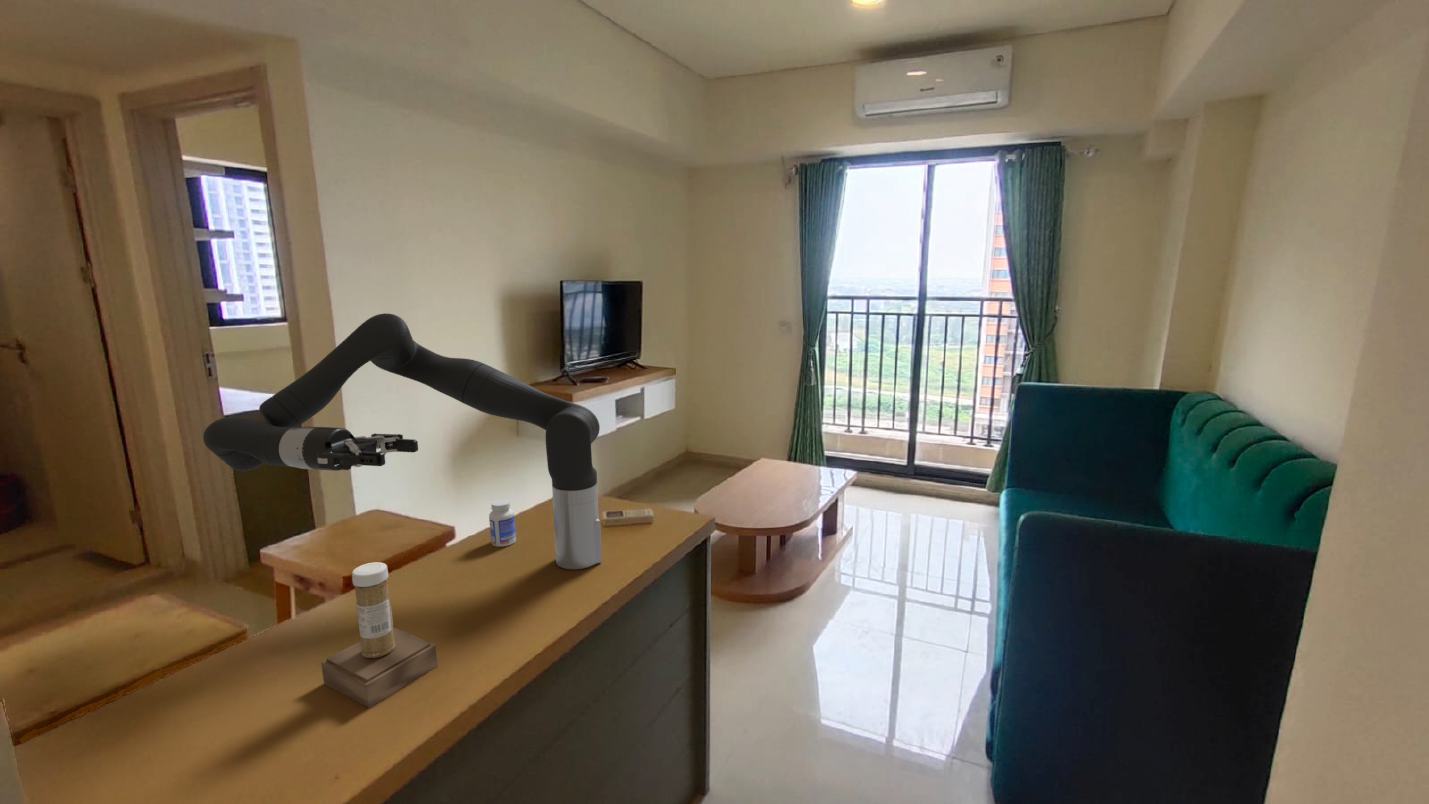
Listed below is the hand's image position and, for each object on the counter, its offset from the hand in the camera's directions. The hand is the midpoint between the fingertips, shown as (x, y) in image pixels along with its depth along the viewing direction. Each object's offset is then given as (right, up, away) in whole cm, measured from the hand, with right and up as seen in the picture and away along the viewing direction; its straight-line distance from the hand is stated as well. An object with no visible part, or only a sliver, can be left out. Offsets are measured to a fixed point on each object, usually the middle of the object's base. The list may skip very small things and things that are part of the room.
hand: (400, 452), depth 105 cm
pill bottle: (+5, -24, +36) cm, 43 cm away
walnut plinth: (+3, -33, -12) cm, 35 cm away
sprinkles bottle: (+3, -29, -13) cm, 32 cm away
